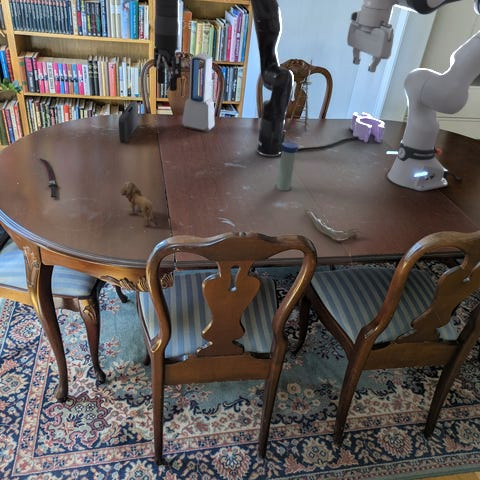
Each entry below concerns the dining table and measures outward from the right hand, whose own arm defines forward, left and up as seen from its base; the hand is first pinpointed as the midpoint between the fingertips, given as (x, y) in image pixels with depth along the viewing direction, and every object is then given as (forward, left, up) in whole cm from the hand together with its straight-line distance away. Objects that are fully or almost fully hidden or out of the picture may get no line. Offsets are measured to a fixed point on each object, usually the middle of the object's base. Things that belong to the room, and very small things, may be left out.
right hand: (363, 67), depth 144 cm
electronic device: (+36, -61, -41) cm, 82 cm away
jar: (+20, -2, -41) cm, 45 cm away
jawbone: (+15, +25, -41) cm, 50 cm away
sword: (+96, -18, -41) cm, 106 cm away
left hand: (+57, -19, -12) cm, 61 cm away
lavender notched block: (-40, -48, -41) cm, 75 cm away
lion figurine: (+71, +11, -41) cm, 82 cm away
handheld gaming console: (+66, -56, -41) cm, 96 cm away
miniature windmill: (-11, -60, -41) cm, 73 cm away
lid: (+20, -2, -26) cm, 32 cm away
